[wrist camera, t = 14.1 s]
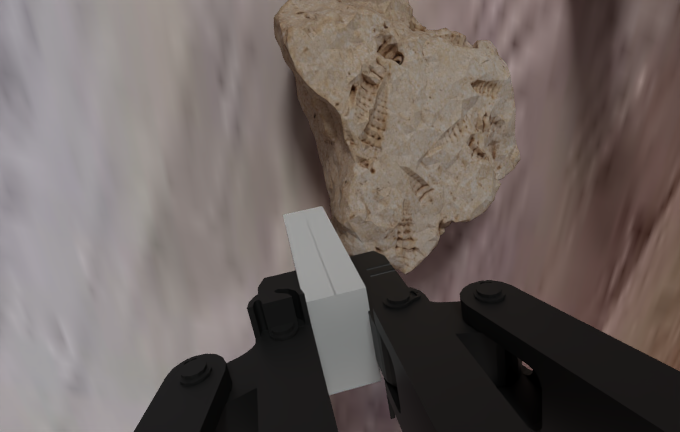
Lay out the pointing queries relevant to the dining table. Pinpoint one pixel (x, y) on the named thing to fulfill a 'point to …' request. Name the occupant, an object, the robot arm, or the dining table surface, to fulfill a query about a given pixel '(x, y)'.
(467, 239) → the dining table surface
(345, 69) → the stone
